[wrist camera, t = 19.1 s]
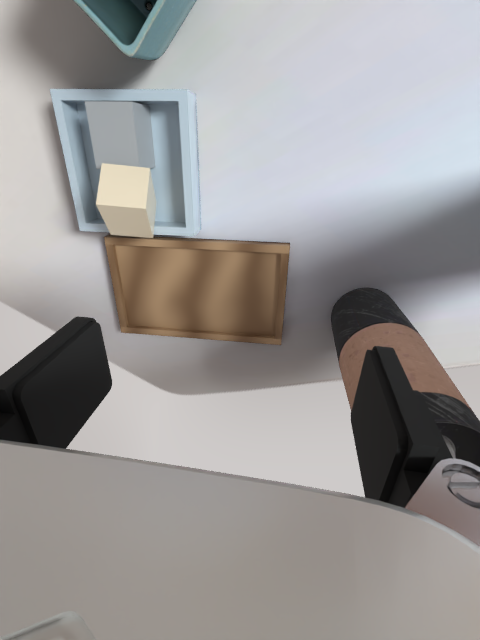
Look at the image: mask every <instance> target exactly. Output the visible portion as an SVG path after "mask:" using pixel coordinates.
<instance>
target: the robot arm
mask: <svg viewBox="0 0 480 640" xmlns="http://www.w3.org/2000/svg"><path fill="white" fill-rule="evenodd" d="M111 386H112V379H111V374H110V369H109V365H108V360H107V355H106V350H105V346H104V341H103V336H102V331H101V327H100V324H99V323H97V322H96V320H95V319H93V318H87V317H75V318H74V319H73V320H71V321H70V322H69V323H68V324H66V325H65V326H64V327H62V328H61V329H60V330H59V331H57V332H56V333H55V334H53V335H52V336H51V337H50V338H48V339H47V340H46V341H45V342H43V343H42V344H41V345H39V346H38V347H37V348H36V349H34V350H33V351H32V352H31V353H29V354H28V355H27V356H25V357H24V358H23V359H22V360H20V361H19V362H18V363H17V364H15V365H14V366H13V367H12V368H10V369H9V370H8V371H6V372H5V373H4V374H2V375H1V376H0V640H480V467H478V466H476V465H474V464H472V463H470V462H467V461H464V460H461V459H453V457H452V455H451V453H450V451H449V449H448V447H447V445H446V443H445V440H444V438H443V436H442V434H441V432H440V430H439V428H438V426H437V424H436V422H435V420H434V418H433V416H432V414H431V412H430V410H429V408H428V406H427V404H426V402H425V400H424V398H423V396H422V394H421V393H420V392H419V391H417V390H413V389H412V387H411V385H410V382H409V380H408V378H407V376H406V374H405V372H404V369H403V367H402V365H401V363H400V361H399V359H398V356H397V354H396V352H395V350H394V348H392V347H382V346H374V347H373V349H372V350H367V351H366V354H365V358H364V362H363V366H362V370H361V374H360V378H359V382H358V386H357V390H356V394H355V398H354V402H353V406H352V411H351V423H352V429H353V434H354V439H355V445H356V450H357V455H358V461H359V466H360V471H361V476H362V482H363V487H364V492H365V498H364V497H360V496H355V495H351V494H346V493H340V492H335V491H329V490H323V489H317V488H312V487H306V486H301V485H295V484H289V483H283V482H277V481H271V480H264V479H258V478H251V477H245V476H239V475H233V474H226V473H221V472H214V471H207V470H202V469H195V468H189V467H182V466H176V465H169V464H162V463H157V462H149V461H143V460H137V459H130V458H124V457H117V456H111V455H104V454H97V453H90V452H84V451H77V450H70V449H66V448H67V446H68V445H69V444H70V442H71V441H72V440H73V438H74V437H75V435H77V433H78V432H79V431H80V429H81V428H82V427H83V425H84V424H85V423H86V421H87V420H88V419H89V417H90V416H91V415H92V413H93V412H94V411H95V410H96V408H97V407H98V406H99V404H100V403H101V401H102V400H103V399H104V398H105V396H106V395H107V394H108V392H109V391H110V389H111Z"/></svg>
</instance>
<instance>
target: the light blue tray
mask: <svg viewBox="0 0 480 640" xmlns="http://www.w3.org/2000/svg"><path fill="white" fill-rule="evenodd" d="M50 93H51V97H52V102H53V107H54V111H55V116H56V121H57V125H58V130H59V135H60V139H61V144H62V149H63V154H64V158H65V163H66V168H67V172H68V177H69V182H70V186H71V191H72V196H73V201H74V205H75V210H76V215H77V219H78V224H79V229H80V231H92V232H109V230H108V228H107V226H106V224H105V222H104V220H103V218H102V216H101V214H100V212H99V210H98V208H97V206H96V200H97V193H98V186H99V179H100V172H101V169H96V164H95V158H94V152H93V146H92V141H91V135H90V129H89V124H88V118H87V112H86V106H85V101H120V102H135V103H139V104H142V105H146V106H150V114H151V124H152V134H153V145H154V155H155V165H156V167H154V168H150V171H151V176H152V181H153V186H154V191H155V197H156V202H157V203H156V214H155V225H154V234H155V235H176V236H195V235H196V234H197V233H198V232H199V231H200V230H201V212H200V186H199V160H198V135H197V109H196V94H195V93H193V92H191V91H189V90H187V89H50Z"/></svg>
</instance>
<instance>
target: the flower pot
mask: <svg viewBox="0 0 480 640" xmlns="http://www.w3.org/2000/svg"><path fill="white" fill-rule="evenodd" d="M73 1H74V2H75V3H76V4H77V5H78V6H79V7H80V8H81V9H82V10H83V11H84V12H85V13H86V14H87V15H88V16H89V17H90V18H91V19H92V21H93V22H94V23H95V24H96V25H97V26H98V27H99V28H100V29H101V30H102V31H103V32H104V33H105V34H106V35H107V37H108V38H109V39H110V40H111V41H112V42H113V43H114V44H115V45H116V46H117V47H118V49H119V50H120V51H121V52H122V53H124V54H125V55H126V56H128V57H133V58H139V59H145V60H155V59H157V58H159V57H160V56H162V55H163V53H164V52H165V51H166V49H167V48H168V46H169V44H170V43H171V41H172V39H173V38H174V36H175V35H176V33H177V31H178V30H179V28H180V26H181V25H182V23H183V21H184V20H185V18H186V17H187V15H188V13H189V12H190V10H191V9H192V7H193V5H194V4H195V2H196V0H73ZM148 2H150V3H151V4H152V9H151V10H148V9H147V8H146V4H147V3H148Z"/></svg>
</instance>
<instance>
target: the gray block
mask: <svg viewBox="0 0 480 640" xmlns="http://www.w3.org/2000/svg"><path fill="white" fill-rule="evenodd" d="M85 106H86V112H87V118H88V124H89V129H90V135H91V141H92V146H93V152H94V158H95V164H96V169H101V165H102V163H105V164H115V165H125V166H135V167H145V168H154V167H156V165H155V155H154V145H153V134H152V124H151V114H150V106H146V105H142V104H139V103H135V102H120V101H85Z"/></svg>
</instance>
